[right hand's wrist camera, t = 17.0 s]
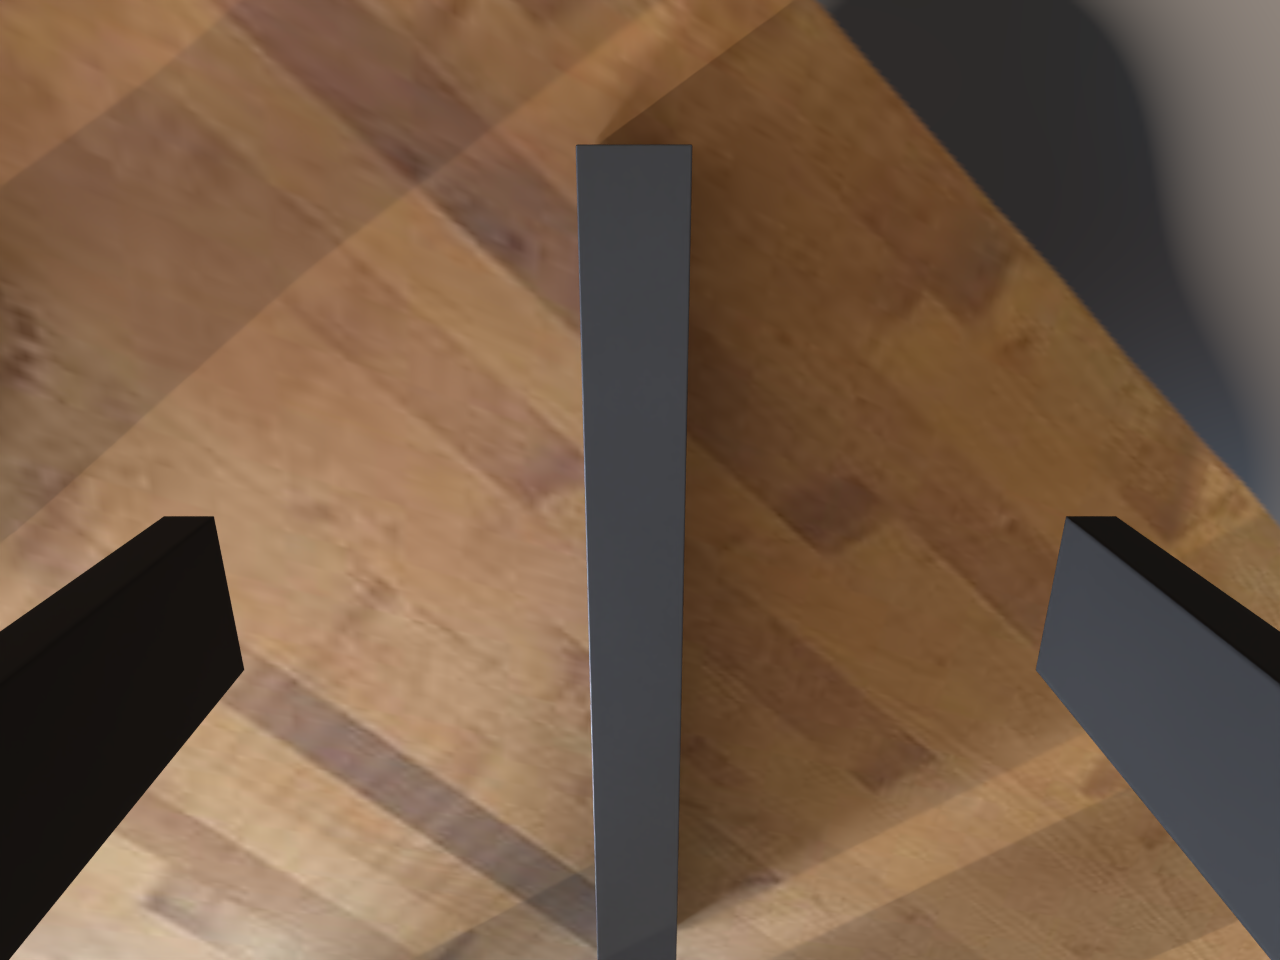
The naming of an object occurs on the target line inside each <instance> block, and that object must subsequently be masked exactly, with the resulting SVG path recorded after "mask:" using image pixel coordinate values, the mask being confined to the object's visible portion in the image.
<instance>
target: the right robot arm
mask: <svg viewBox="0 0 1280 960" xmlns="http://www.w3.org/2000/svg"><path fill="white" fill-rule="evenodd" d="M243 671H244V666H243V661H242V656H241V651H240V646H239V641H238V636H237V631H236V626H235V621H234V616H233V611H232V606H231V601H230V596H229V591H228V586H227V580H226V575H225V570H224V565H223V560H222V555H221V550H220V545H219V540H218V535H217V530H216V525H215V520H214V516H164V517H163V518H161V519H160V520H158V521H157V522H155V523H154V524H153V525H151V526H150V527H148V528H147V529H145V530H144V531H143V532H141V533H140V534H138V535H137V536H136V537H134V538H133V539H131V540H130V541H128V542H127V543H126V544H124V545H123V546H121V547H120V548H118V549H117V550H116V551H114V552H113V553H111V554H110V555H108V556H107V557H106V558H104V559H103V560H101V561H100V562H99V563H97V564H96V565H94V566H93V567H91V568H90V569H89V570H87V571H86V572H84V573H83V574H81V575H80V576H79V577H77V578H76V579H74V580H73V581H71V582H70V583H69V584H67V585H66V586H64V587H63V588H61V589H60V590H59V591H57V592H56V593H54V594H53V595H52V596H50V597H49V598H47V599H46V600H44V601H43V602H42V603H40V604H39V605H37V606H36V607H34V608H33V609H32V610H30V611H29V612H27V613H26V614H24V615H23V616H22V617H20V618H19V619H17V620H16V621H15V622H13V623H12V624H10V625H9V626H7V627H6V628H5V629H3V630H2V631H0V960H9V959H10V958H11V957H12V955H13V954H14V953H15V952H16V950H17V949H18V948H19V947H20V946H21V944H22V943H23V942H24V941H25V939H26V938H27V937H28V936H29V934H30V933H31V932H32V931H33V930H34V928H35V927H36V926H37V925H38V923H39V922H40V921H41V920H42V918H43V917H44V916H45V915H46V913H47V912H48V911H49V910H50V909H51V907H52V906H53V905H54V904H55V902H56V901H57V900H58V899H59V897H60V896H61V895H62V894H63V893H64V891H65V890H66V889H67V888H68V886H69V885H70V884H71V883H72V881H73V880H74V879H75V878H76V877H77V875H78V874H79V873H80V872H81V870H82V869H83V868H84V867H85V865H86V864H87V863H88V862H89V860H90V859H91V858H92V857H93V856H94V854H95V853H96V852H97V851H98V849H99V848H100V847H101V846H102V844H103V843H104V842H105V841H106V840H107V838H108V837H109V836H110V835H111V833H112V832H113V831H114V830H115V828H116V827H117V826H118V825H119V824H120V822H121V821H122V820H123V819H124V817H125V816H126V815H127V814H128V812H129V811H130V810H131V809H132V808H133V806H134V805H135V804H136V803H137V801H138V800H139V799H140V798H141V796H142V795H143V794H144V793H145V791H146V790H147V789H148V788H149V787H150V785H151V784H152V783H153V782H154V780H155V779H156V778H157V777H158V775H159V774H160V773H161V772H162V771H163V769H164V768H165V767H166V766H167V764H168V763H169V762H170V761H171V759H172V758H173V757H174V756H175V755H176V753H177V752H178V751H179V750H180V748H181V747H182V746H183V745H184V743H185V742H186V741H187V740H188V738H189V737H190V736H191V735H192V734H193V732H194V731H195V730H196V729H197V727H198V726H199V725H200V724H201V722H202V721H203V720H204V719H205V718H206V716H207V715H208V714H209V713H210V711H211V710H212V709H213V708H214V706H215V705H216V704H217V703H218V702H219V700H220V699H221V698H222V697H223V695H224V694H225V693H226V692H227V690H228V689H229V688H230V687H231V685H232V684H233V683H234V682H235V681H236V679H237V678H238V677H239V676H240V674H241V673H242V672H243ZM1036 671H1037V672H1038V673H1039V674H1040V676H1041V677H1042V678H1043V679H1044V681H1045V682H1046V683H1047V684H1048V685H1049V687H1050V688H1051V689H1052V690H1053V692H1054V693H1055V694H1056V695H1057V697H1058V698H1059V699H1060V700H1061V702H1062V703H1063V704H1064V705H1065V706H1066V708H1067V709H1068V710H1069V711H1070V713H1071V714H1072V715H1073V716H1074V718H1075V719H1076V720H1077V721H1078V722H1079V724H1080V725H1081V726H1082V727H1083V729H1084V730H1085V731H1086V732H1087V734H1088V735H1089V736H1090V737H1091V738H1092V740H1093V741H1094V742H1095V743H1096V745H1097V746H1098V747H1099V748H1100V750H1101V751H1102V752H1103V753H1104V755H1105V756H1106V757H1107V758H1108V759H1109V761H1110V762H1111V763H1112V764H1113V766H1114V767H1115V768H1116V769H1117V771H1118V772H1119V773H1120V774H1121V775H1122V777H1123V778H1124V779H1125V780H1126V782H1127V783H1128V784H1129V785H1130V787H1131V788H1132V789H1133V790H1134V791H1135V793H1136V794H1137V795H1138V796H1139V798H1140V799H1141V800H1142V801H1143V803H1144V804H1145V805H1146V806H1147V808H1148V809H1149V810H1150V811H1151V812H1152V814H1153V815H1154V816H1155V817H1156V819H1157V820H1158V821H1159V822H1160V824H1161V825H1162V826H1163V827H1164V828H1165V830H1166V831H1167V832H1168V833H1169V835H1170V836H1171V837H1172V838H1173V840H1174V841H1175V842H1176V843H1177V844H1178V846H1179V847H1180V848H1181V849H1182V851H1183V852H1184V853H1185V854H1186V856H1187V857H1188V858H1189V859H1190V860H1191V862H1192V863H1193V864H1194V865H1195V867H1196V868H1197V869H1198V870H1199V872H1200V873H1201V874H1202V875H1203V877H1204V878H1205V879H1206V880H1207V881H1208V883H1209V884H1210V885H1211V886H1212V888H1213V889H1214V890H1215V891H1216V893H1217V894H1218V895H1219V896H1220V897H1221V899H1222V900H1223V901H1224V902H1225V904H1226V905H1227V906H1228V907H1229V909H1230V910H1231V911H1232V912H1233V913H1234V915H1235V916H1236V917H1237V918H1238V920H1239V921H1240V922H1241V923H1242V925H1243V926H1244V927H1245V928H1246V930H1247V931H1248V932H1249V933H1250V934H1251V936H1252V937H1253V938H1254V939H1255V941H1256V942H1257V943H1258V944H1259V946H1260V947H1261V948H1262V949H1263V950H1264V952H1265V953H1266V954H1267V955H1268V957H1269V958H1270V959H1271V960H1280V631H1278V630H1277V629H1275V628H1274V627H1273V626H1271V625H1270V624H1268V623H1267V622H1265V621H1264V620H1263V619H1261V618H1260V617H1258V616H1257V615H1256V614H1254V613H1253V612H1251V611H1250V610H1248V609H1247V608H1246V607H1244V606H1243V605H1241V604H1240V603H1238V602H1237V601H1236V600H1234V599H1233V598H1231V597H1230V596H1228V595H1227V594H1226V593H1224V592H1223V591H1221V590H1220V589H1218V588H1217V587H1216V586H1214V585H1213V584H1211V583H1210V582H1209V581H1207V580H1206V579H1204V578H1203V577H1201V576H1200V575H1199V574H1197V573H1196V572H1194V571H1193V570H1191V569H1190V568H1189V567H1187V566H1186V565H1184V564H1183V563H1181V562H1180V561H1179V560H1177V559H1176V558H1174V557H1173V556H1172V555H1170V554H1169V553H1167V552H1166V551H1164V550H1163V549H1162V548H1160V547H1159V546H1157V545H1156V544H1154V543H1153V542H1152V541H1150V540H1149V539H1147V538H1146V537H1144V536H1143V535H1142V534H1140V533H1139V532H1137V531H1136V530H1135V529H1133V528H1132V527H1130V526H1129V525H1127V524H1126V523H1125V522H1123V521H1122V520H1120V519H1119V518H1117V517H1116V516H1066V520H1065V525H1064V530H1063V535H1062V540H1061V545H1060V550H1059V555H1058V560H1057V565H1056V570H1055V575H1054V580H1053V586H1052V591H1051V596H1050V601H1049V606H1048V611H1047V616H1046V621H1045V626H1044V631H1043V636H1042V641H1041V646H1040V651H1039V656H1038V661H1037V666H1036Z"/></svg>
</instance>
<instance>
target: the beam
mask: <svg viewBox="0 0 1280 960" xmlns="http://www.w3.org/2000/svg"><path fill="white" fill-rule="evenodd" d="M576 171H577V209H578V247H579V284H580V322H581V359H582V397H583V434H584V472H585V510H586V547H587V585H588V622H589V660H590V697H591V735H592V773H593V810H594V848H595V885H596V923H597V960H676V944H677V893H678V843H679V792H680V742H681V691H682V640H683V590H684V539H685V488H686V438H687V387H688V337H689V286H690V235H691V185H692V145H576Z"/></svg>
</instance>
